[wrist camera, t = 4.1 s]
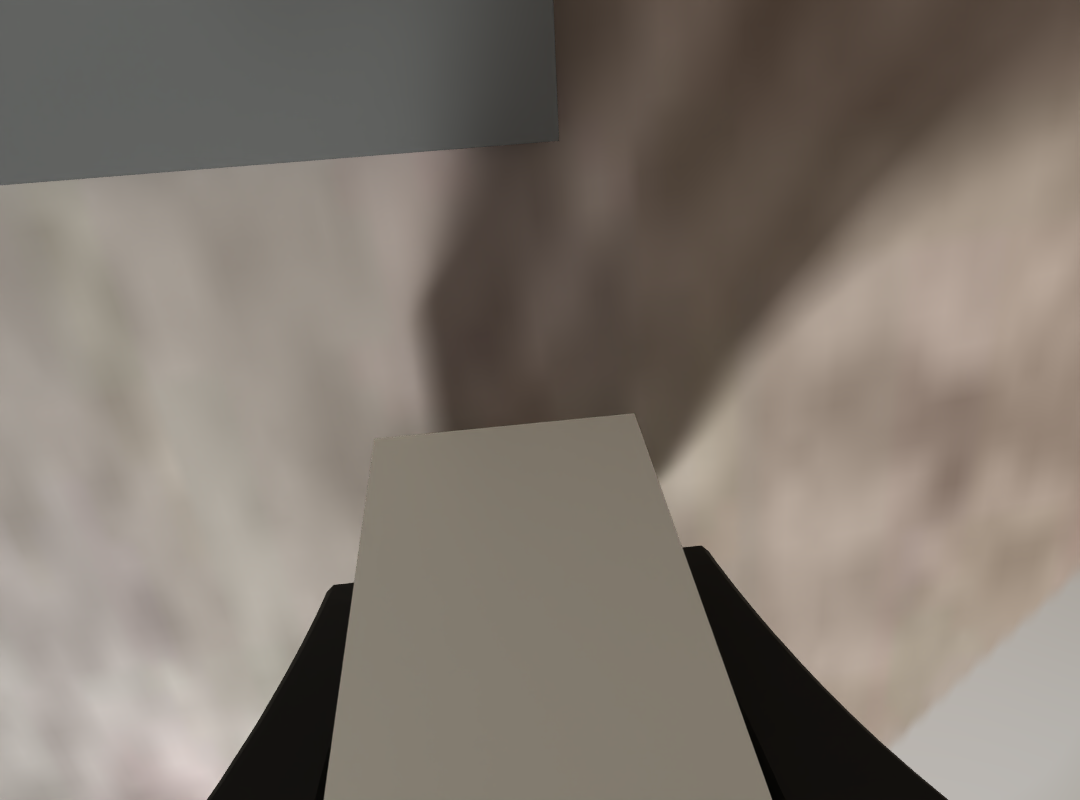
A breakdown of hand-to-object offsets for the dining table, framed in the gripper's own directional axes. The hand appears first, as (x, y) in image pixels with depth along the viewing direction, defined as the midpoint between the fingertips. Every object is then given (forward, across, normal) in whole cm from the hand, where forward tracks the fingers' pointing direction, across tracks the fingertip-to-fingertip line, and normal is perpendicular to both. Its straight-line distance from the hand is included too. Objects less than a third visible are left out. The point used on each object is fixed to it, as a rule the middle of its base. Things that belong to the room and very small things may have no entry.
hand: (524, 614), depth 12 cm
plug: (+2, 0, 0) cm, 2 cm away
